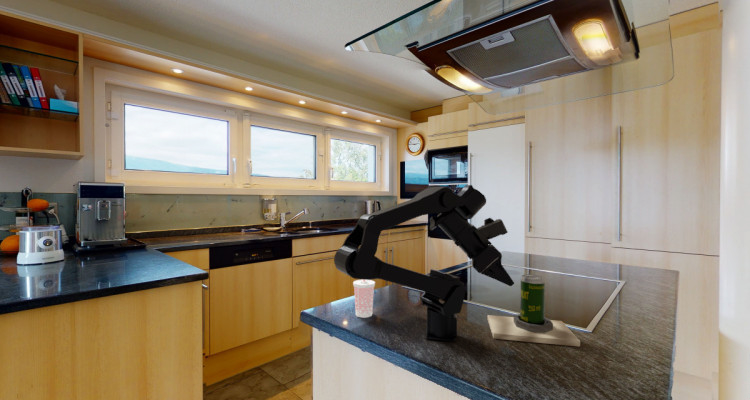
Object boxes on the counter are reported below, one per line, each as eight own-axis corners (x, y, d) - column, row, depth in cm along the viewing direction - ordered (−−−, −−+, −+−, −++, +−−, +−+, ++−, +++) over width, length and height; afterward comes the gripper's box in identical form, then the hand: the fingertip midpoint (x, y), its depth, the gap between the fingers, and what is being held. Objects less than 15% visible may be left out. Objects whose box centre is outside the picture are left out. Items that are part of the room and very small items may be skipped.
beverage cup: (379, 313, 91) (379, 263, 91) (365, 320, 86) (366, 267, 86) (362, 309, 95) (362, 261, 95) (348, 315, 90) (348, 264, 90)
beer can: (536, 321, 83) (536, 274, 83) (549, 329, 78) (549, 279, 78) (515, 321, 82) (516, 274, 82) (527, 330, 77) (528, 279, 77)
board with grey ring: (493, 338, 75) (493, 326, 75) (487, 319, 87) (487, 309, 87) (580, 346, 72) (580, 334, 72) (561, 325, 83) (561, 315, 83)
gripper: (490, 208, 68) (548, 264, 65) (481, 206, 86) (526, 249, 83) (450, 244, 69) (505, 300, 67) (450, 235, 88) (493, 278, 85)
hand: (508, 279), depth 76 cm, fingers open, 9 cm apart
